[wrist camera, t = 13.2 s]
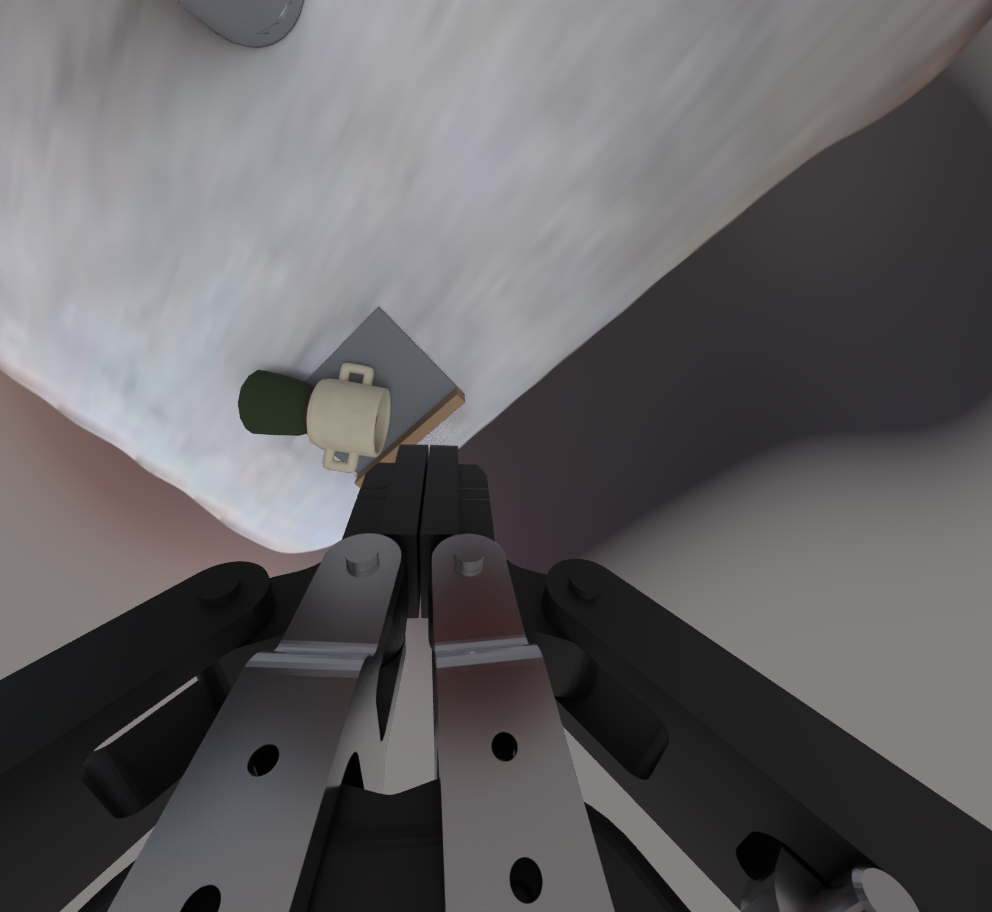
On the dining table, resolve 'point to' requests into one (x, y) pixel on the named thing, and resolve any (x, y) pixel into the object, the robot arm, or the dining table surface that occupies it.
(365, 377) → the character mug
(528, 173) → the dining table surface
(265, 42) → the robot arm
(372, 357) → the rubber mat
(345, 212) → the dining table surface
